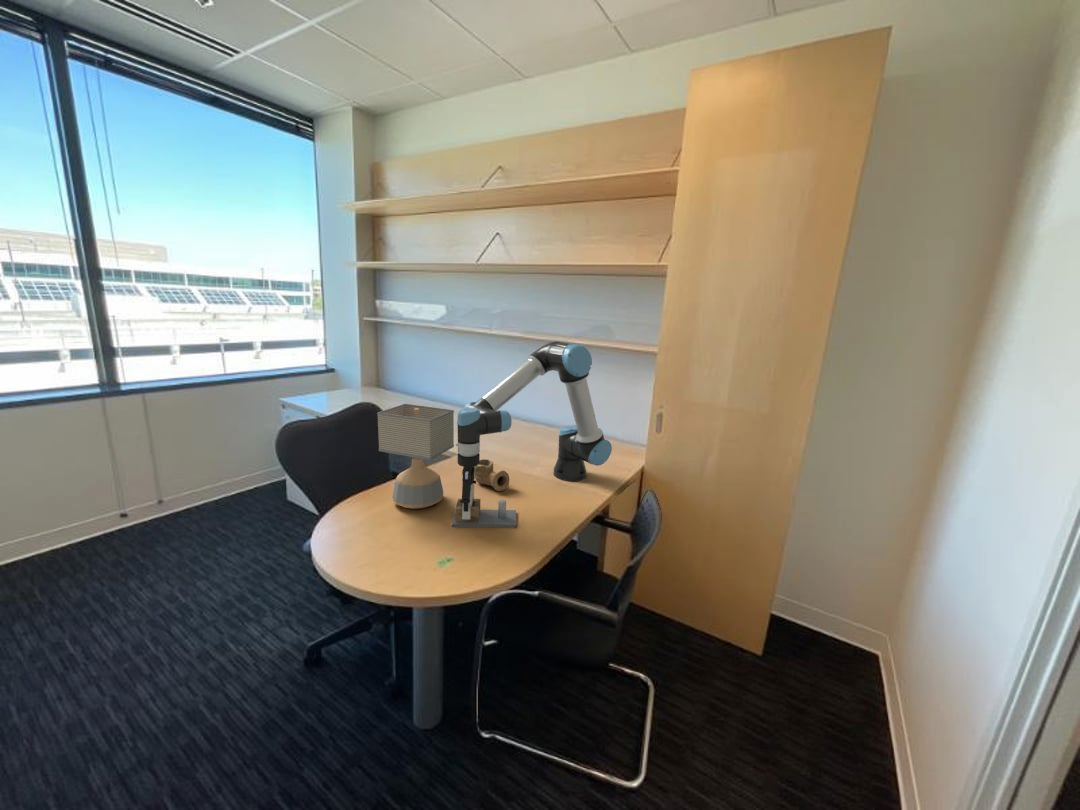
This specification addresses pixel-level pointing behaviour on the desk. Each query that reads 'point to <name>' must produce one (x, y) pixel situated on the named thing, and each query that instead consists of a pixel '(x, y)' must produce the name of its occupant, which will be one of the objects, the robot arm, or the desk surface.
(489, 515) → the post board
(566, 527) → the desk surface
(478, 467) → the pipe
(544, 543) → the desk surface
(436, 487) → the desk lamp
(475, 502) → the collar
